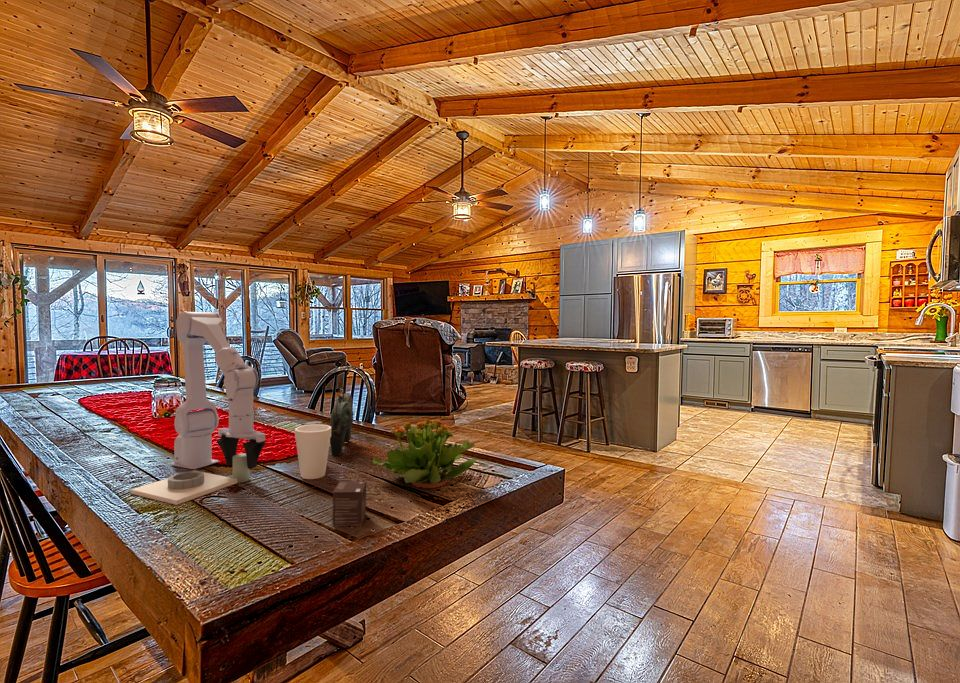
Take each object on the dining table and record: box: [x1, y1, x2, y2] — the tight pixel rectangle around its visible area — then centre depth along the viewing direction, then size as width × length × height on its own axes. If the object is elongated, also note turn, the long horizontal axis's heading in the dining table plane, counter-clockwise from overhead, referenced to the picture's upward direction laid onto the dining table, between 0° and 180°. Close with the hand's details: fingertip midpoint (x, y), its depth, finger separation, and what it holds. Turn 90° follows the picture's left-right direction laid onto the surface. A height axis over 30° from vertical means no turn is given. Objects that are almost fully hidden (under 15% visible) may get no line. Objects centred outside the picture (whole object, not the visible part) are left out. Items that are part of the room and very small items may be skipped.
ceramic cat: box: [329, 387, 354, 456], centre depth 155 cm, size 20×6×20 cm, turn 6°
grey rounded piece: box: [232, 452, 251, 484], centre depth 122 cm, size 4×4×6 cm
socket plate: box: [130, 469, 238, 506], centre depth 115 cm, size 16×16×3 cm
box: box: [332, 481, 367, 527], centre depth 99 cm, size 6×6×7 cm
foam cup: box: [294, 423, 331, 480], centre depth 127 cm, size 10×9×13 cm
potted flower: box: [372, 418, 477, 489], centre depth 123 cm, size 25×24×18 cm
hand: (241, 465), depth 122 cm, fingers open, 7 cm apart
